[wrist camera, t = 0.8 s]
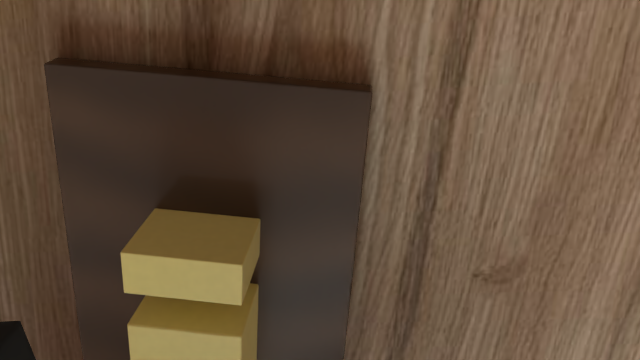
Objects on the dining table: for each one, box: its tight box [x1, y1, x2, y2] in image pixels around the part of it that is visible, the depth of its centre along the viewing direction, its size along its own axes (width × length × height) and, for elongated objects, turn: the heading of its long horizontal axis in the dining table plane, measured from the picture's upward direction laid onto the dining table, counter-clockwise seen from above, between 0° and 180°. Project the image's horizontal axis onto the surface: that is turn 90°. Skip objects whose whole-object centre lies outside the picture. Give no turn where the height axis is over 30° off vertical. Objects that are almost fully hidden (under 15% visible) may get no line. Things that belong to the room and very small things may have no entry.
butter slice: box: [120, 208, 260, 305], centre depth 25 cm, size 2×5×4 cm, turn 86°
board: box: [44, 58, 372, 360], centre depth 28 cm, size 20×14×1 cm
